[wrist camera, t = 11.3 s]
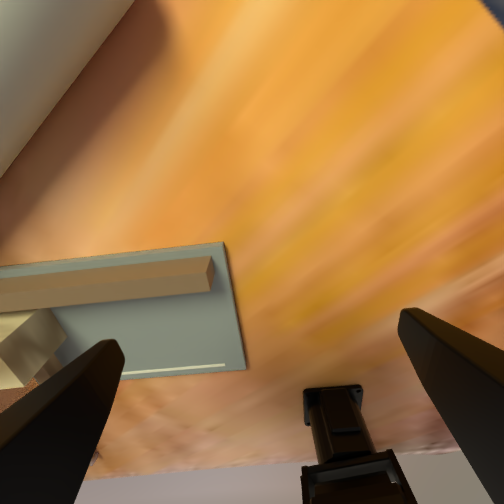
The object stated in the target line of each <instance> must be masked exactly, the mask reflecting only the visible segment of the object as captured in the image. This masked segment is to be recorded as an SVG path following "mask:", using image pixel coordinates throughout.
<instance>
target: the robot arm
mask: <svg viewBox="0 0 504 504" xmlns="http://www.w3.org/2000/svg"><path fill="white" fill-rule="evenodd" d="M398 335H399V338H400V340H401V342H402V344H403V346H404V348H405V350H406V352H407V354H408V356H409V358H410V361H411V363H412V365H413V367H414V369H415V371H416V373H417V375H418V377H419V379H420V381H421V383H422V385H423V387H424V389H425V390H426V392H427V394H428V396H429V397H430V399H431V400H432V402H433V404H434V405H435V407H436V409H437V410H438V412H439V414H440V415H441V417H442V419H443V420H444V422H445V424H446V425H447V427H448V428H449V430H450V432H451V433H452V435H453V437H454V438H455V440H456V442H457V443H458V445H459V447H460V448H461V450H462V452H463V453H464V455H465V456H466V458H467V460H468V461H469V463H470V465H471V466H472V468H473V470H474V471H475V473H476V475H477V476H478V478H479V480H480V481H481V483H482V485H483V486H484V488H485V489H486V491H487V493H488V494H489V496H490V498H491V499H492V501H493V502H494V504H504V351H503V350H501V349H499V348H497V347H495V346H493V345H491V344H489V343H487V342H485V341H483V340H481V339H479V338H477V337H475V336H473V335H471V334H469V333H467V332H465V331H463V330H461V329H459V328H457V327H455V326H453V325H451V324H449V323H447V322H445V321H443V320H441V319H439V318H437V317H435V316H433V315H431V314H429V313H427V312H425V311H423V310H421V309H419V308H415V307H414V308H404V309H402V310H401V312H400V318H399V323H398ZM124 365H125V356H124V353H123V351H122V350H121V348H120V346H119V344H118V342H117V340H115V339H104V340H101V341H99V342H98V343H96V344H95V345H93V346H92V347H91V348H89V349H88V350H87V351H85V352H84V353H83V354H81V355H80V356H78V357H77V358H76V359H74V360H73V361H72V362H70V363H69V364H68V365H66V366H65V367H63V368H62V369H61V370H59V371H58V372H57V373H55V374H54V375H52V376H51V377H50V378H48V379H47V380H46V381H44V382H43V383H42V384H40V385H39V386H37V387H36V388H35V389H33V390H32V391H31V392H29V393H28V394H27V395H25V396H24V397H22V398H21V399H20V400H18V401H17V402H16V403H14V404H13V405H11V406H10V407H9V408H7V409H6V410H5V411H3V412H2V413H1V414H0V504H74V502H75V499H76V497H77V494H78V492H79V489H80V487H81V484H82V482H83V479H84V477H85V474H86V472H87V469H88V467H89V464H90V462H91V459H92V457H93V454H94V452H95V449H96V447H97V444H98V442H99V439H100V437H101V434H102V432H103V429H104V427H105V424H106V422H107V419H108V417H109V414H110V411H111V408H112V405H113V402H114V398H115V395H116V392H117V388H118V385H119V381H120V378H121V375H122V371H123V368H124ZM362 396H363V389H362V386H361V385H349V386H337V387H324V388H312V389H305V390H304V391H303V405H304V422H305V425H306V426H311V429H312V434H313V439H314V444H315V449H316V454H317V459H318V463H319V464H318V465H313V466H309V467H308V466H302V476H300V478H301V485H302V500H303V504H418V503H417V501H416V499H415V497H414V495H413V492H412V490H411V488H410V486H409V484H408V482H407V480H406V478H405V475H404V473H403V471H402V469H401V467H400V465H399V463H398V461H397V459H396V456H395V454H394V452H393V450H392V449H388V450H386V451H384V452H379V453H377V452H376V450H375V447H374V445H373V442H372V439H371V437H370V434H369V432H368V429H367V427H366V424H365V421H364V419H363V416H362V414H361V403H362ZM395 481H396V482H397V483H396V482H395ZM391 482H395V483H391Z"/></svg>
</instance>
